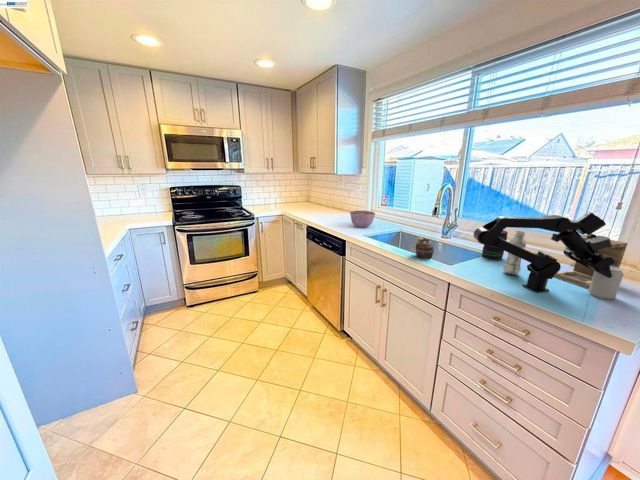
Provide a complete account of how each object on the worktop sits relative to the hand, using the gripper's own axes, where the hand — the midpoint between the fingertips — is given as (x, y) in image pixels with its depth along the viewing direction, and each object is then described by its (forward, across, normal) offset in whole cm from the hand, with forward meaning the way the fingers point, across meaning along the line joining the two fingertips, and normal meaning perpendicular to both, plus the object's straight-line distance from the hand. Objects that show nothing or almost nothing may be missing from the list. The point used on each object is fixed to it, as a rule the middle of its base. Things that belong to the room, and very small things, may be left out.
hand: (601, 272), depth 102 cm
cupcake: (-36, +29, +49) cm, 67 cm away
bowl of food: (-64, +95, +77) cm, 138 cm away
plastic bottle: (-10, +16, +23) cm, 29 cm away
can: (+8, 0, +5) cm, 10 cm away
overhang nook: (+10, +16, +3) cm, 20 cm away
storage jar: (-10, +40, +23) cm, 47 cm away
